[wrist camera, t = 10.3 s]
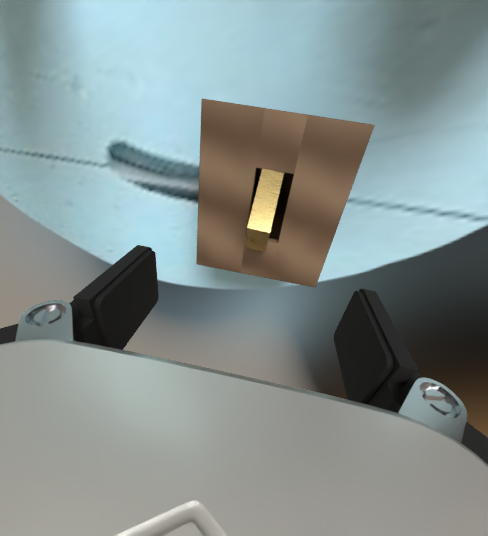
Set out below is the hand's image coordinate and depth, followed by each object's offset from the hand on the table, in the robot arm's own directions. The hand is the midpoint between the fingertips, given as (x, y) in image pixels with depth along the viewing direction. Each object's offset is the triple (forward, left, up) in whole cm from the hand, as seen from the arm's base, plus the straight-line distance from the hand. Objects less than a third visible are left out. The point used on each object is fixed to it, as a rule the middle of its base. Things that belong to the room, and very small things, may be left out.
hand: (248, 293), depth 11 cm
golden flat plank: (-1, 0, -16) cm, 16 cm away
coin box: (0, 0, -24) cm, 24 cm away
